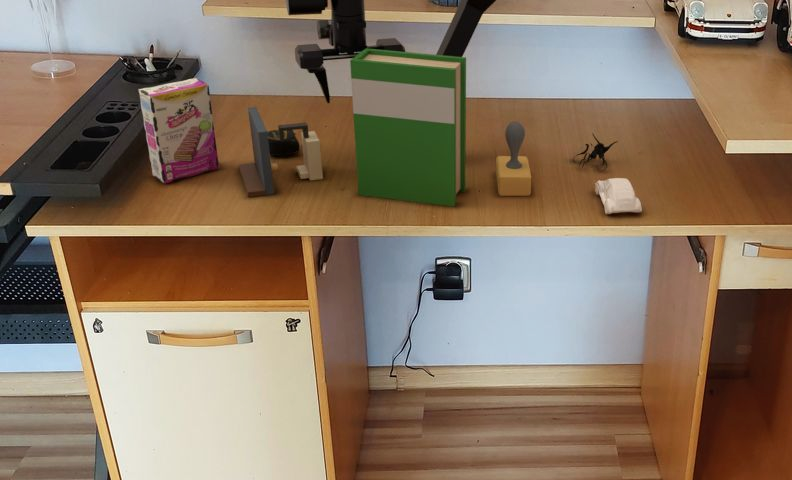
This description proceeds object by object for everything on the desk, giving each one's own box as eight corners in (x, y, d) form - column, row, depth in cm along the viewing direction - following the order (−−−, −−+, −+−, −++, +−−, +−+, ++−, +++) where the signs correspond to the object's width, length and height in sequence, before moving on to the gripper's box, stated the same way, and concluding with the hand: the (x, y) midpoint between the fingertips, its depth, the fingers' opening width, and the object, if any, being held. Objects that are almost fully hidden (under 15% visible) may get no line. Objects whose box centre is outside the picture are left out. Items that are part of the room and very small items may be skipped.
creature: (597, 180, 171) (622, 160, 175) (595, 156, 168) (621, 136, 172) (565, 168, 176) (590, 149, 180) (563, 144, 172) (589, 126, 176)
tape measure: (300, 157, 174) (299, 138, 172) (264, 160, 172) (262, 141, 170) (296, 144, 180) (294, 126, 178) (261, 147, 178) (259, 129, 176)
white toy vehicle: (642, 217, 155) (645, 192, 153) (607, 219, 154) (610, 194, 152) (623, 188, 165) (626, 165, 163) (590, 190, 164) (592, 166, 162)
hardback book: (465, 189, 163) (466, 57, 151) (454, 206, 157) (454, 70, 144) (372, 178, 166) (365, 48, 154) (358, 194, 160) (350, 60, 148)
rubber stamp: (530, 196, 162) (533, 132, 155) (498, 195, 161) (500, 131, 155) (526, 174, 170) (529, 112, 164) (495, 173, 170) (497, 112, 163)
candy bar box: (165, 185, 161) (149, 96, 153) (152, 177, 164) (135, 88, 156) (221, 169, 168) (209, 83, 160) (208, 161, 171) (195, 76, 163)
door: (269, 166, 170) (263, 106, 164) (281, 193, 160) (274, 130, 154) (238, 169, 168) (230, 109, 162) (248, 197, 158) (240, 134, 152)
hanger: (317, 168, 170) (313, 118, 164) (322, 179, 166) (318, 127, 160) (282, 173, 167) (276, 121, 162) (286, 183, 163) (281, 131, 158)
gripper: (388, -1, 165) (391, 82, 173) (285, 5, 159) (293, 91, 167) (405, 13, 156) (407, 100, 165) (297, 20, 151) (305, 110, 159)
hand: (353, 100), depth 164 cm, fingers open, 9 cm apart
